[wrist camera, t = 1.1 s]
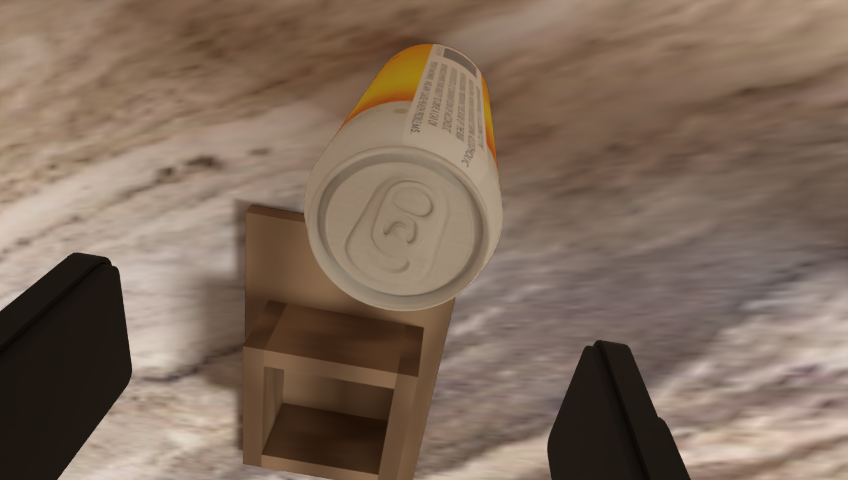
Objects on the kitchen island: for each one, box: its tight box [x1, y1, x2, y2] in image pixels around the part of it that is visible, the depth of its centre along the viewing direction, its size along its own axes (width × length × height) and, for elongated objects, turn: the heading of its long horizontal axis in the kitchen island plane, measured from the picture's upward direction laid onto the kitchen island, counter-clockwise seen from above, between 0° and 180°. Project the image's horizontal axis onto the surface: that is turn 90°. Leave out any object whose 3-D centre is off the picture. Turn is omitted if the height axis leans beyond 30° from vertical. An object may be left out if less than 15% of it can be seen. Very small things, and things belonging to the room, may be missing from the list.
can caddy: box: [243, 205, 455, 480], centre depth 35 cm, size 13×22×6 cm, turn 171°
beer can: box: [304, 44, 503, 311], centre depth 22 cm, size 6×6×15 cm
